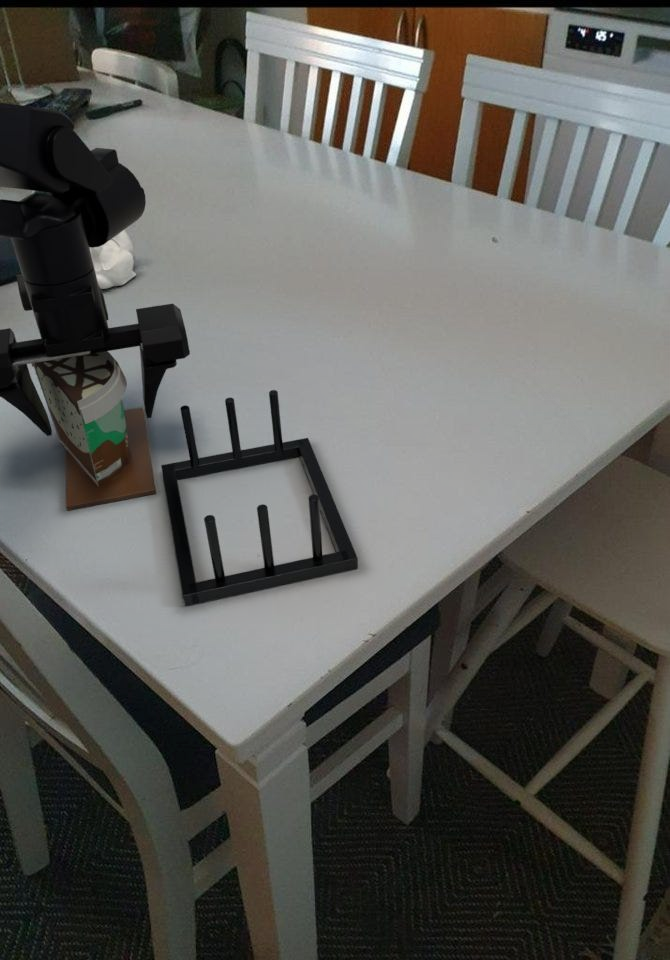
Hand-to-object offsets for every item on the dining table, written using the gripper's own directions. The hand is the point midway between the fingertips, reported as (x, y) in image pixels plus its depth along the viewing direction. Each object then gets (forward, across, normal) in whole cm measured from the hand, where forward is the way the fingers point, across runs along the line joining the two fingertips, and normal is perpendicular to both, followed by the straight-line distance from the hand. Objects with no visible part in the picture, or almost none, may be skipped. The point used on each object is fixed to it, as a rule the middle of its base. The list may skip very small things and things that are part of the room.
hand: (99, 424), depth 77 cm
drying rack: (+4, -12, +13) cm, 18 cm away
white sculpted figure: (+4, -4, -41) cm, 41 cm away
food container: (+4, 0, 0) cm, 4 cm away
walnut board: (+4, 0, 0) cm, 4 cm away
